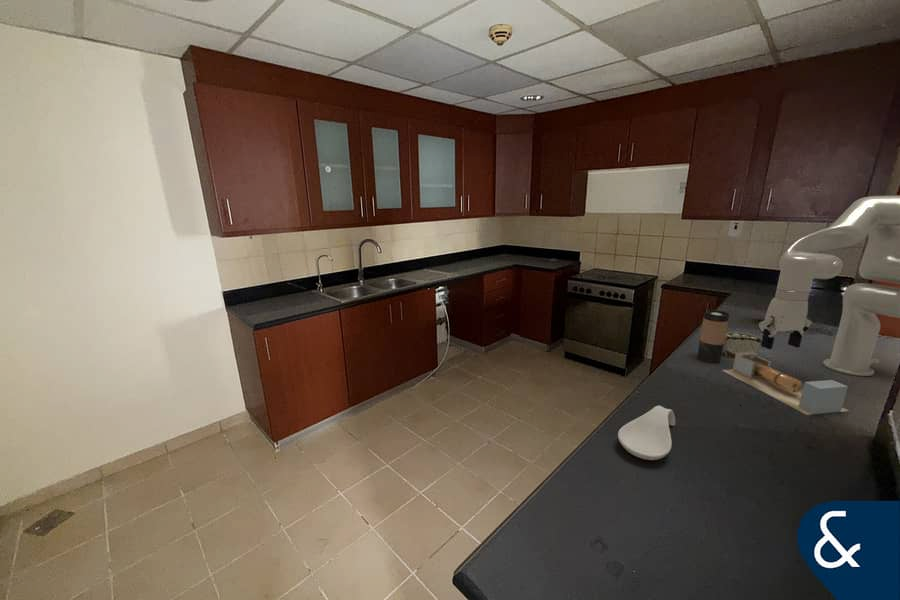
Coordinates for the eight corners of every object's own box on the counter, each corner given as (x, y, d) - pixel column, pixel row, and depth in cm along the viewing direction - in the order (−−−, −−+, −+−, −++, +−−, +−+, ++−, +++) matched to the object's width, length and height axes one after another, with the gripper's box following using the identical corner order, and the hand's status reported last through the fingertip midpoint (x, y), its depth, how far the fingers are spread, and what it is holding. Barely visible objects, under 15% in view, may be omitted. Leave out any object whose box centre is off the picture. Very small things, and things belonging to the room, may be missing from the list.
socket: (825, 404, 108) (832, 379, 106) (840, 411, 104) (847, 386, 102) (798, 406, 107) (804, 382, 105) (812, 414, 103) (819, 388, 101)
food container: (752, 356, 144) (756, 332, 142) (759, 362, 139) (764, 338, 136) (715, 353, 148) (719, 330, 146) (721, 358, 143) (725, 335, 140)
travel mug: (724, 366, 136) (733, 316, 131) (701, 365, 137) (710, 315, 132) (714, 358, 143) (722, 310, 138) (692, 357, 145) (700, 309, 139)
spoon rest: (660, 475, 83) (664, 448, 81) (609, 452, 91) (611, 427, 90) (688, 431, 99) (692, 407, 97) (642, 414, 107) (645, 392, 106)
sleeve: (749, 369, 131) (752, 351, 129) (767, 378, 124) (771, 359, 122) (732, 370, 130) (735, 352, 129) (750, 379, 124) (754, 360, 122)
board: (756, 370, 133) (757, 367, 132) (849, 413, 105) (850, 410, 104) (721, 372, 131) (722, 370, 131) (805, 417, 103) (806, 414, 103)
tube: (738, 368, 129) (740, 357, 128) (749, 367, 130) (751, 356, 128) (789, 393, 112) (792, 381, 111) (801, 392, 112) (804, 380, 111)
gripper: (803, 291, 116) (792, 341, 121) (755, 293, 115) (744, 344, 119) (830, 297, 109) (816, 349, 113) (778, 299, 107) (766, 352, 112)
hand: (779, 346), depth 116 cm, fingers open, 9 cm apart
